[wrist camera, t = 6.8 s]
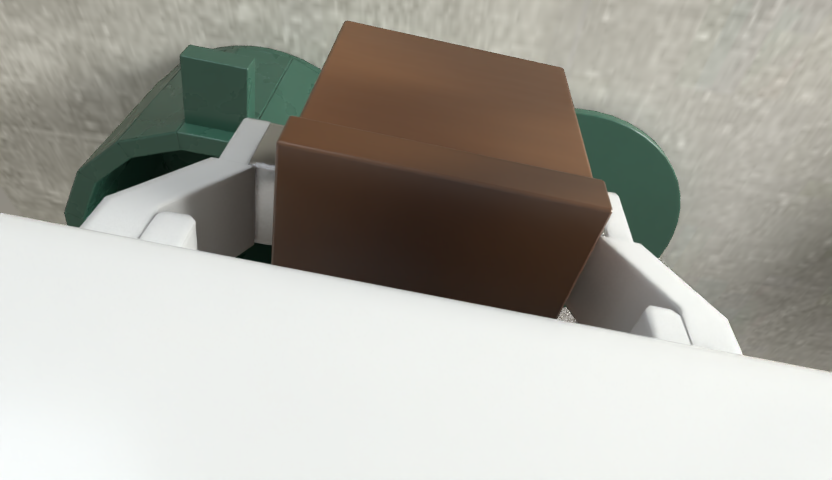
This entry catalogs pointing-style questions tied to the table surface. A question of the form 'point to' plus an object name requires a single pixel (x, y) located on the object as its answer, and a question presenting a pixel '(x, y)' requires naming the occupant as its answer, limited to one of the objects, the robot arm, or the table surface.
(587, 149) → the pot lid
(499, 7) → the table surface
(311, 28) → the table surface
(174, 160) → the pot
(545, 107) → the walnut box
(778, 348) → the table surface
